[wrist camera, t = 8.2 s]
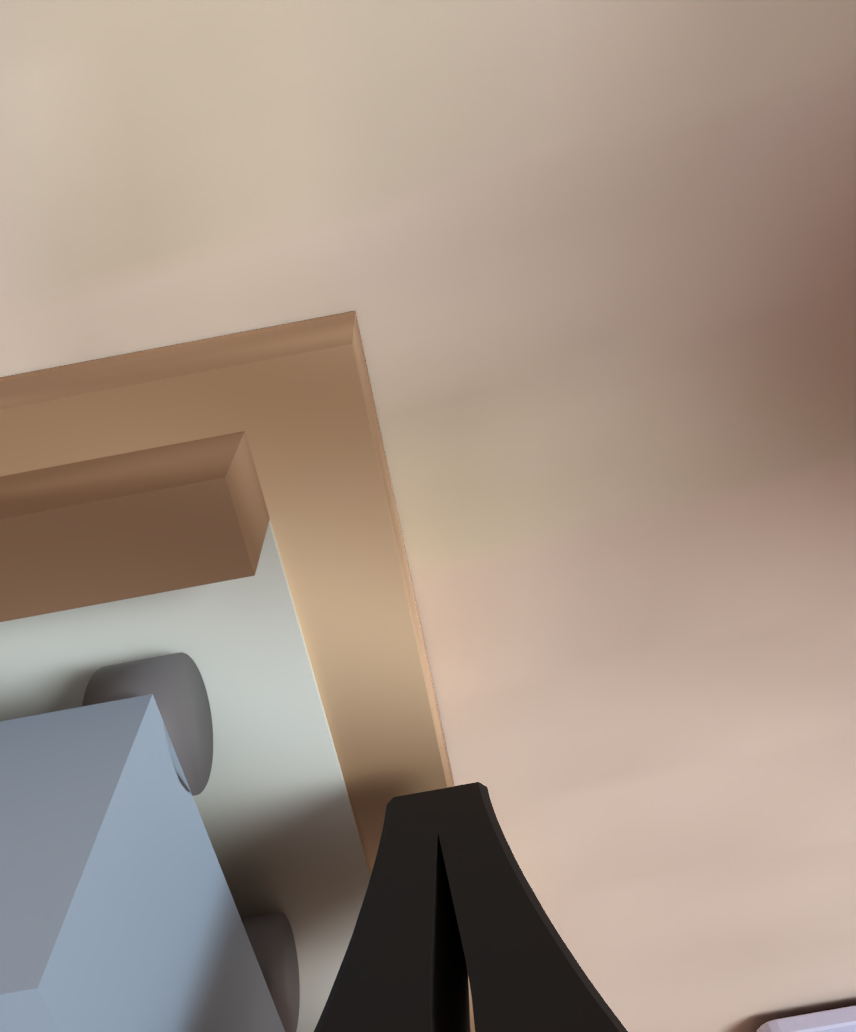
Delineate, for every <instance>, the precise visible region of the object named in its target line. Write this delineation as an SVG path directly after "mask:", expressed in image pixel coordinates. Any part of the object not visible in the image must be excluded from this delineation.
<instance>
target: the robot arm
mask: <svg viewBox="0 0 856 1032" xmlns="http://www.w3.org/2000/svg"><path fill="white" fill-rule="evenodd" d="M468 977H469V983H470V989H471V996H472V1005H473V1015H474V1025H475V1032H628V1031H627V1030H626V1029H625V1028H624V1026H623V1025H622V1024H621V1022H620V1021H619V1020H618V1018H617V1017H616V1016H615V1014H614V1013H613V1012H612V1010H611V1009H610V1008H609V1006H608V1005H607V1004H606V1002H605V1001H604V1000H603V998H602V997H601V996H600V994H599V993H598V991H597V990H596V989H595V987H594V986H593V984H592V983H591V982H590V980H589V979H588V977H587V976H586V974H585V973H584V971H583V970H582V969H581V967H580V966H579V964H578V963H577V961H576V960H575V958H574V957H573V955H572V954H571V952H570V951H569V949H568V948H567V946H566V945H565V943H564V942H563V940H562V939H561V937H560V935H559V934H558V932H557V931H556V929H555V927H554V926H553V924H552V923H551V921H550V919H549V918H548V916H547V915H546V913H545V911H544V910H543V908H542V906H541V904H540V903H539V901H538V899H537V897H536V896H535V894H534V892H533V890H532V889H531V887H530V885H529V883H528V882H527V880H526V878H525V876H524V875H523V873H522V871H521V869H520V867H519V865H518V863H517V861H516V859H515V857H514V855H513V853H512V851H511V849H510V847H509V845H508V843H507V841H506V839H505V837H504V834H503V832H502V830H501V827H500V825H499V823H498V820H497V818H496V815H495V813H494V810H493V807H492V804H491V801H490V797H489V793H488V789H487V787H486V786H484V785H482V784H481V783H479V782H476V783H471V784H465V785H459V786H454V787H448V788H442V789H437V790H431V791H425V792H420V793H414V794H408V795H403V796H397V797H393V798H392V799H391V800H390V801H389V803H388V804H387V806H386V813H385V819H384V825H383V829H382V834H381V839H380V843H379V847H378V851H377V855H376V859H375V863H374V866H373V870H372V874H371V877H370V881H369V884H368V888H367V891H366V894H365V897H364V900H363V903H362V906H361V909H360V912H359V915H358V919H357V922H356V925H355V928H354V931H353V934H352V937H351V940H350V942H349V945H348V948H347V950H346V953H345V956H344V958H343V961H342V963H341V966H340V969H339V971H338V974H337V976H336V979H335V981H334V984H333V987H332V989H331V992H330V994H329V997H328V999H327V1002H326V1004H325V1007H324V1009H323V1011H322V1014H321V1016H320V1018H319V1021H318V1023H317V1025H316V1028H315V1030H314V1032H471V1030H470V1007H469V984H468ZM756 1032H856V1005H855V1006H849V1007H843V1008H837V1009H832V1010H826V1011H820V1012H814V1013H809V1014H803V1015H797V1016H791V1017H786V1018H780V1019H775V1020H771V1021H768V1022H766V1023H764V1024H763V1025H761V1026H760V1027H759V1028H758V1029H757V1031H756Z"/></svg>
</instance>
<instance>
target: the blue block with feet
mask: <svg viewBox="0 0 856 1032" xmlns="http://www.w3.org/2000/svg"><path fill="white" fill-rule="evenodd" d="M212 760H213V726H212V717H211V710H210V704H209V699H208V695H207V691H206V688H205V684H204V681H203V679H202V676H201V673H200V671H199V669H198V667H197V666H196V664H195V662H194V661H193V659H192V658H191V657H190V656H189V655H187V654H186V653H183V652H180V653H174V654H169V655H163V656H158V657H152V658H147V659H141V660H136V661H130V662H125V663H119V664H114V665H108V666H103V667H101V668H99V669H98V670H96V671H95V673H94V674H93V675H92V677H91V678H90V680H89V682H88V685H87V687H86V690H85V694H84V698H83V703H82V707H77V708H72V709H66V710H61V711H55V712H50V713H44V714H39V715H33V716H28V717H22V718H17V719H11V720H6V721H0V1032H296V1030H297V1025H298V1018H299V1005H300V982H299V968H298V958H297V951H296V945H295V940H294V936H293V932H292V928H291V925H290V923H289V920H288V918H287V917H286V915H285V914H284V913H283V912H278V913H272V914H266V915H261V916H255V917H249V918H244V919H241V918H240V915H239V913H238V910H237V908H236V905H235V903H234V900H233V897H232V895H231V892H230V890H229V887H228V885H227V882H226V880H225V877H224V875H223V872H222V869H221V867H220V864H219V862H218V859H217V857H216V854H215V852H214V849H213V846H212V844H211V841H210V839H209V836H208V834H207V831H206V829H205V826H204V824H203V821H202V818H201V816H200V813H199V811H198V808H197V806H196V803H195V801H194V798H193V796H195V795H199V794H200V793H202V792H203V790H204V789H205V787H206V785H207V783H208V780H209V777H210V773H211V768H212Z"/></svg>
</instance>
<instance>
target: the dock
mask: <svg viewBox="0 0 856 1032" xmlns="http://www.w3.org/2000/svg"><path fill="white" fill-rule="evenodd" d="M180 652H183V653H186V654H187V655H189V656H190V657H191V658H192V659H193V661H194V662H195V664H196V666H197V667H198V669H199V671H200V673H201V676H202V679H203V681H204V684H205V688H206V691H207V695H208V699H209V704H210V710H211V717H212V726H213V760H212V768H211V773H210V777H209V780H208V783H207V785H206V787H205V789H204V790H203V792H202V793H200V794H199V795H195V796H193V798H194V801H195V803H196V806H197V808H198V811H199V813H200V816H201V818H202V821H203V824H204V826H205V829H206V831H207V834H208V836H209V839H210V841H211V844H212V846H213V849H214V852H215V854H216V857H217V859H218V862H219V864H220V867H221V869H222V872H223V875H224V877H225V880H226V882H227V885H228V887H229V890H230V892H231V895H232V897H233V900H234V903H235V905H236V908H237V910H238V913H239V915H240V918H241V919H244V918H249V917H255V916H261V915H266V914H272V913H278V912H283V913H284V914H285V915H286V917H287V918H288V920H289V923H290V925H291V928H292V932H293V936H294V940H295V945H296V951H297V958H298V968H299V982H300V1005H299V1018H298V1025H297V1030H296V1032H314V1030H315V1028H316V1025H317V1023H318V1021H319V1018H320V1016H321V1014H322V1011H323V1009H324V1007H325V1004H326V1002H327V999H328V997H329V994H330V992H331V989H332V987H333V984H334V981H335V979H336V976H337V974H338V971H339V969H340V966H341V963H342V961H343V958H344V956H345V953H346V950H347V948H348V945H349V942H350V940H351V937H352V934H353V931H354V928H355V925H356V922H357V919H358V915H359V912H360V909H361V906H362V903H363V900H364V897H365V894H366V891H367V888H368V884H369V881H370V877H371V874H372V870H373V866H374V863H375V859H376V855H377V851H378V847H379V843H380V839H381V834H382V829H383V825H384V819H385V813H386V806H387V804H388V803H389V801H390V800H391V799H392V798H393V797H397V796H403V795H408V794H414V793H420V792H425V791H431V790H437V789H442V788H448V787H454V782H453V778H452V773H451V768H450V763H449V758H448V754H447V749H446V744H445V739H444V734H443V730H442V725H441V720H440V715H439V710H438V706H437V701H436V696H435V691H434V686H433V682H432V677H431V672H430V667H429V662H428V658H427V653H426V648H425V643H424V638H423V634H422V629H421V624H420V619H419V615H418V610H417V605H416V600H415V595H414V591H413V586H412V581H411V576H410V571H409V567H408V562H407V557H406V552H405V547H404V543H403V538H402V533H401V528H400V523H399V519H398V514H397V509H396V504H395V499H394V495H393V490H392V485H391V480H390V475H389V471H388V466H387V461H386V456H385V451H384V447H383V442H382V437H381V432H380V427H379V423H378V418H377V413H376V408H375V404H374V399H373V394H372V389H371V384H370V380H369V375H368V370H367V365H366V360H365V356H364V351H363V346H362V341H361V336H360V332H359V327H358V322H357V317H356V312H355V311H352V312H346V313H341V314H336V315H330V316H325V317H320V318H314V319H309V320H304V321H298V322H293V323H288V324H282V325H277V326H272V327H266V328H261V329H256V330H251V331H245V332H240V333H235V334H229V335H224V336H219V337H213V338H208V339H203V340H197V341H192V342H187V343H181V344H176V345H171V346H165V347H160V348H155V349H149V350H144V351H139V352H133V353H128V354H123V355H117V356H112V357H107V358H102V359H96V360H91V361H86V362H80V363H75V364H70V365H64V366H59V367H54V368H48V369H43V370H38V371H32V372H27V373H22V374H16V375H11V376H6V377H0V721H6V720H11V719H17V718H22V717H28V716H33V715H39V714H44V713H50V712H55V711H61V710H66V709H72V708H77V707H82V703H83V698H84V694H85V690H86V687H87V685H88V682H89V680H90V678H91V677H92V675H93V674H94V673H95V671H96V670H98V669H99V668H101V667H103V666H108V665H114V664H119V663H125V662H130V661H136V660H141V659H147V658H152V657H158V656H163V655H169V654H174V653H180ZM468 984H469V1007H470V1030H471V1032H475V1025H474V1015H473V1005H472V996H471V989H470V983H469V977H468Z"/></svg>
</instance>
